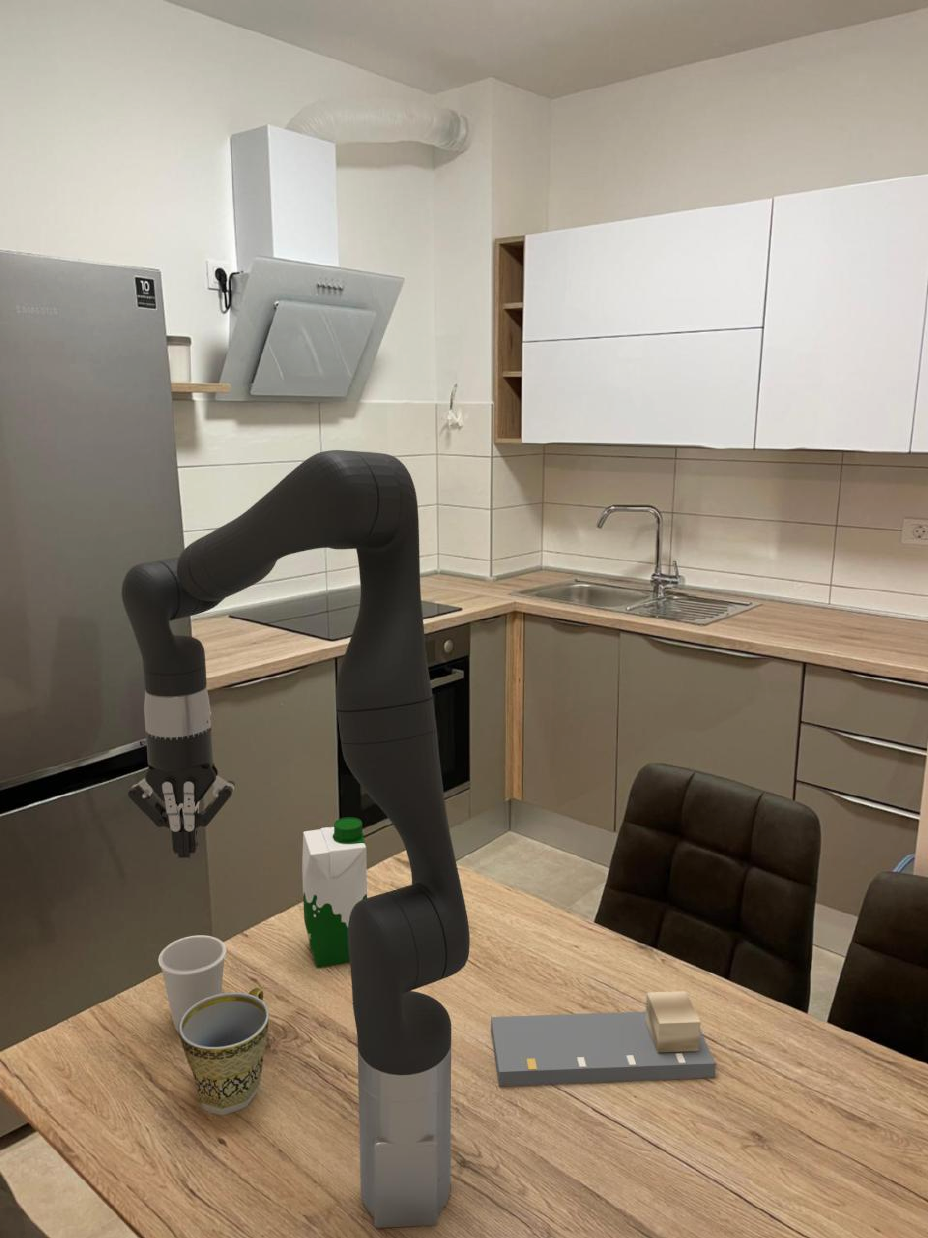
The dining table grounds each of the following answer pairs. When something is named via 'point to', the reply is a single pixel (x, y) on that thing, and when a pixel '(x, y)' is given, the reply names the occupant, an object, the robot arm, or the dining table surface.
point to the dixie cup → (192, 972)
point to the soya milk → (332, 887)
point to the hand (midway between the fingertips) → (186, 854)
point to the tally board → (588, 1050)
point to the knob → (672, 1021)
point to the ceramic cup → (226, 1048)
